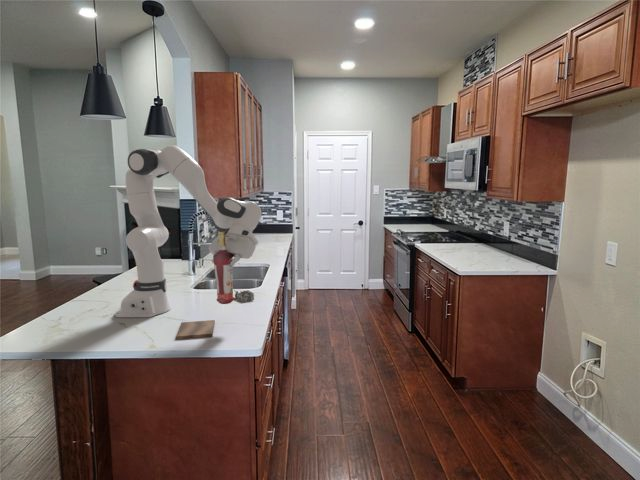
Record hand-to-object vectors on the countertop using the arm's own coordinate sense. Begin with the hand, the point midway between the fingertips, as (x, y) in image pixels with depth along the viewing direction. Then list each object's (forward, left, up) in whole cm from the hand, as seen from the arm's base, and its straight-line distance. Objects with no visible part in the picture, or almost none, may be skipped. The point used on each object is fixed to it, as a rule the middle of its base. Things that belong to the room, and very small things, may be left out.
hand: (222, 264), depth 152 cm
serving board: (-11, 0, -26) cm, 28 cm away
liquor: (+1, 0, -16) cm, 16 cm away
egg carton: (+9, +40, -27) cm, 49 cm away
